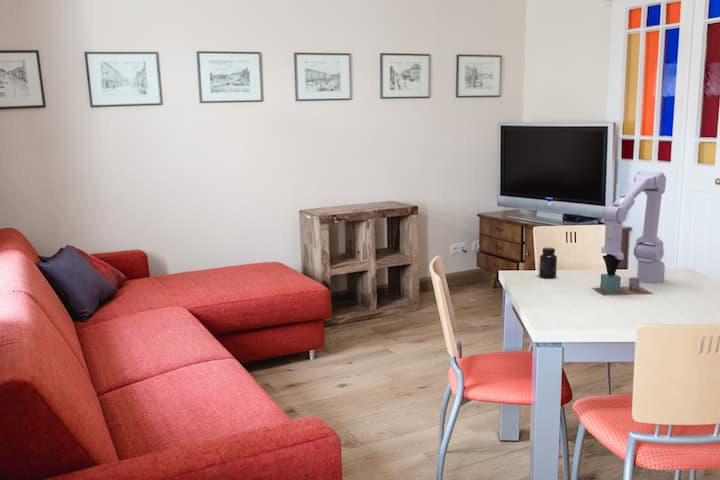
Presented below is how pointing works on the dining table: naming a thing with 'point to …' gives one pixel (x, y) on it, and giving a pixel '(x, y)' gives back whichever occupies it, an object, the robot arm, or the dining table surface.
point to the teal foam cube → (610, 283)
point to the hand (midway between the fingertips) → (611, 274)
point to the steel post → (633, 284)
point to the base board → (625, 291)
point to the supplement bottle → (548, 263)
